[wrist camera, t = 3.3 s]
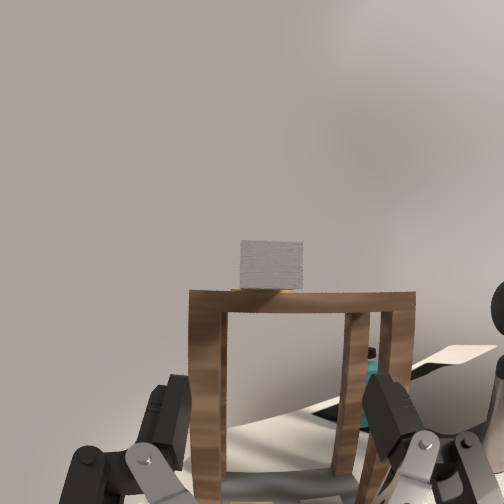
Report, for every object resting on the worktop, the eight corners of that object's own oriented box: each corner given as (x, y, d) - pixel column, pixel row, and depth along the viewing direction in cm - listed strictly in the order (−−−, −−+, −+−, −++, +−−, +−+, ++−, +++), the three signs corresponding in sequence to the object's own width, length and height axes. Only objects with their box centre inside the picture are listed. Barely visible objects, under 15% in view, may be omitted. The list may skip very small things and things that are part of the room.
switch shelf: (378, 518, 25) (415, 289, 29) (197, 531, 24) (189, 287, 29) (346, 468, 41) (362, 292, 45) (208, 473, 40) (208, 289, 45)
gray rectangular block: (302, 288, 19) (302, 242, 19) (239, 287, 19) (241, 240, 19) (270, 291, 43) (270, 270, 43) (241, 290, 43) (242, 269, 43)
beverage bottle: (339, 426, 60) (347, 346, 63) (362, 421, 61) (370, 344, 64) (353, 436, 54) (362, 351, 56) (377, 429, 55) (387, 348, 58)
